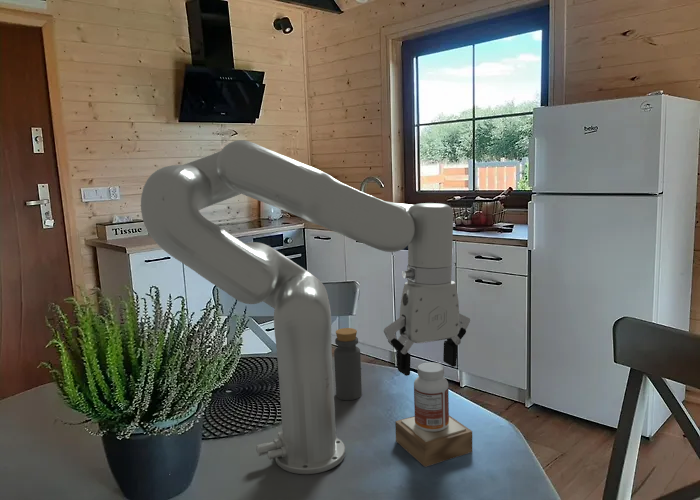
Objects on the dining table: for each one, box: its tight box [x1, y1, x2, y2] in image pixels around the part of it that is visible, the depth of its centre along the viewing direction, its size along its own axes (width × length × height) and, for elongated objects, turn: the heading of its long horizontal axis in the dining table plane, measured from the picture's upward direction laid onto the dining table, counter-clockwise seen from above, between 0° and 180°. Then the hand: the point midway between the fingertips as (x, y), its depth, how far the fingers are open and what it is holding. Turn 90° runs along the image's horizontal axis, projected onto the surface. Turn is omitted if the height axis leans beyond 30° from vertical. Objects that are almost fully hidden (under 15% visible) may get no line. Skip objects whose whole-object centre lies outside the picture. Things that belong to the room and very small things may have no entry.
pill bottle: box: [413, 361, 450, 432], centre depth 100 cm, size 6×6×11 cm
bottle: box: [333, 327, 363, 401], centre depth 123 cm, size 6×6×15 cm
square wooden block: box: [394, 415, 473, 468], centre depth 101 cm, size 10×10×4 cm
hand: (427, 368), depth 99 cm, fingers open, 9 cm apart
